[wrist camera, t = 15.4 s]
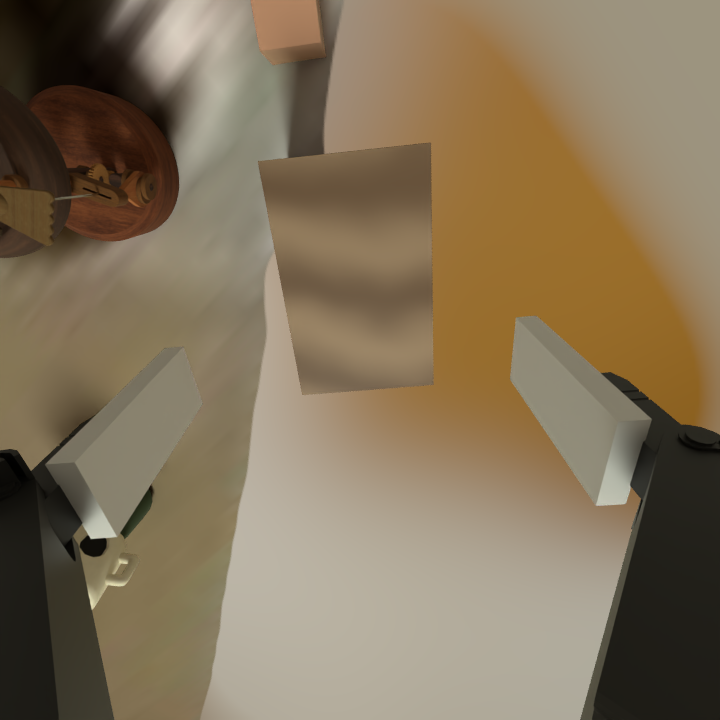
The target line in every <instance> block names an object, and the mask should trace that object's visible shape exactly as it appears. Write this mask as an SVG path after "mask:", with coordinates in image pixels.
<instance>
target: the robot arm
mask: <svg viewBox="0 0 720 720" xmlns="http://www.w3.org/2000/svg"><path fill="white" fill-rule="evenodd" d="M510 380H511V381H512V383H513V384H514V386H515V387H516V389H517V390H518V391H519V393H520V394H521V396H522V397H523V399H524V400H525V402H526V403H527V405H528V406H529V408H530V409H531V411H532V412H533V414H534V415H535V417H536V418H537V420H538V421H539V423H540V424H541V425H542V427H543V428H544V430H545V431H546V433H547V434H548V436H549V437H550V439H551V440H552V442H553V443H554V445H555V446H556V448H557V449H558V451H559V452H560V453H561V455H562V456H563V458H564V459H565V461H566V462H567V464H568V465H569V467H570V468H571V470H572V471H573V473H574V474H575V476H576V477H577V479H578V480H579V481H580V483H581V484H582V486H583V487H584V489H585V490H586V492H587V493H588V494H589V496H590V498H591V499H592V501H593V502H594V504H595V505H596V506H602V505H617V504H626V501H627V498H628V495H629V492H630V488H631V487H632V488H633V490H634V491H635V492H636V493H637V494H638V496H639V497H640V498H641V501H640V504H639V507H638V510H637V513H636V516H635V519H634V522H633V525H632V528H631V529H632V532H631V536H630V540H629V543H628V547H627V551H626V554H625V558H624V562H623V565H622V569H621V573H620V576H619V580H618V584H617V587H616V591H615V595H614V598H613V602H612V606H611V609H610V613H609V617H608V620H607V624H606V628H605V632H604V635H603V639H602V642H601V646H600V650H599V653H598V657H597V661H596V664H595V668H594V672H593V675H592V679H591V683H590V686H589V690H588V694H587V697H586V701H585V705H584V708H583V712H582V716H581V719H580V720H720V435H719V434H717V433H715V432H713V431H710V430H707V429H705V428H702V427H697V426H691V425H681V424H680V423H678V422H677V421H676V420H675V419H673V418H672V417H671V416H670V415H669V414H667V413H666V412H665V411H664V410H663V409H661V408H660V407H659V406H658V405H657V404H655V403H654V402H653V401H652V400H649V399H648V397H647V396H646V395H645V394H643V393H642V392H639V389H637V388H636V387H635V386H634V385H632V384H631V383H630V382H629V381H628V380H626V379H624V378H622V377H620V376H617V375H615V374H613V373H611V372H608V373H600V372H599V371H597V370H596V369H595V368H594V367H593V366H592V365H591V364H590V363H588V362H587V361H586V360H585V359H584V358H583V357H582V356H581V355H580V354H578V353H577V352H576V351H575V350H574V349H573V348H572V347H571V346H569V345H568V344H567V343H566V342H565V341H564V340H563V339H562V338H561V337H559V336H558V335H557V334H556V333H555V332H554V331H553V330H552V329H551V328H549V327H548V326H547V325H546V324H545V323H544V322H543V321H542V320H540V319H539V318H538V317H537V316H529V317H518V318H516V325H515V335H514V345H513V355H512V366H511V376H510ZM202 404H203V403H202V400H201V397H200V394H199V391H198V388H197V385H196V382H195V379H194V376H193V373H192V371H191V368H190V365H189V362H188V359H187V356H186V353H185V350H184V347H174V348H165V349H163V350H162V351H161V352H160V353H159V354H158V355H157V356H156V357H155V358H154V359H153V360H152V361H151V362H150V363H149V364H148V365H147V366H146V367H145V368H144V369H143V370H142V371H141V372H140V373H139V374H138V375H137V376H136V377H135V378H134V379H133V380H132V381H131V382H129V383H128V384H127V385H126V386H125V387H124V388H123V389H122V390H121V391H120V392H119V393H118V394H117V395H116V396H115V397H114V398H113V399H112V400H111V401H110V402H109V403H108V404H107V405H106V406H105V407H104V408H103V409H102V410H101V411H100V412H99V413H98V414H97V415H95V416H93V417H91V418H90V419H88V420H87V421H85V422H83V423H82V424H80V425H79V426H78V427H77V428H76V429H75V430H74V431H73V432H72V433H71V434H70V435H69V437H67V438H66V439H64V440H63V441H62V442H61V443H60V446H57V447H56V448H55V449H54V450H53V451H52V452H51V453H50V454H49V455H48V456H47V457H46V458H44V459H43V460H42V461H41V462H40V463H39V464H38V465H37V466H36V467H35V468H34V469H33V470H32V471H30V469H29V468H28V466H27V464H26V463H25V461H24V460H23V458H22V457H21V455H20V454H19V452H18V451H17V450H12V449H8V450H1V451H0V720H114V717H113V712H112V707H111V702H110V697H109V692H108V687H107V682H106V677H105V672H104V668H103V663H102V658H101V653H100V648H99V643H98V638H97V633H96V628H95V623H94V618H93V613H92V609H91V604H90V599H89V594H88V589H87V584H86V579H85V574H84V569H83V564H82V559H81V554H80V550H79V545H78V543H77V542H76V540H75V539H74V537H73V535H74V534H75V533H76V531H77V530H78V529H79V527H80V526H81V525H83V527H84V528H85V530H86V532H87V533H88V535H89V536H90V538H91V539H97V538H112V537H118V535H119V534H120V532H121V531H122V529H123V527H124V526H125V524H126V523H127V521H128V520H129V518H130V517H131V515H132V513H133V512H134V510H135V509H136V507H137V506H138V504H139V503H140V501H141V499H142V498H143V496H144V495H145V493H146V492H147V490H148V489H149V487H150V485H151V484H152V482H153V481H154V479H155V478H156V476H157V475H158V473H159V471H160V470H161V468H162V467H163V465H164V464H165V462H166V461H167V459H168V457H169V456H170V454H171V453H172V451H173V450H174V448H175V446H176V445H177V443H178V442H179V440H180V439H181V437H182V436H183V434H184V432H185V431H186V429H187V428H188V426H189V425H190V423H191V422H192V420H193V418H194V417H195V415H196V414H197V412H198V411H199V409H200V408H201V406H202Z"/></svg>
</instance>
